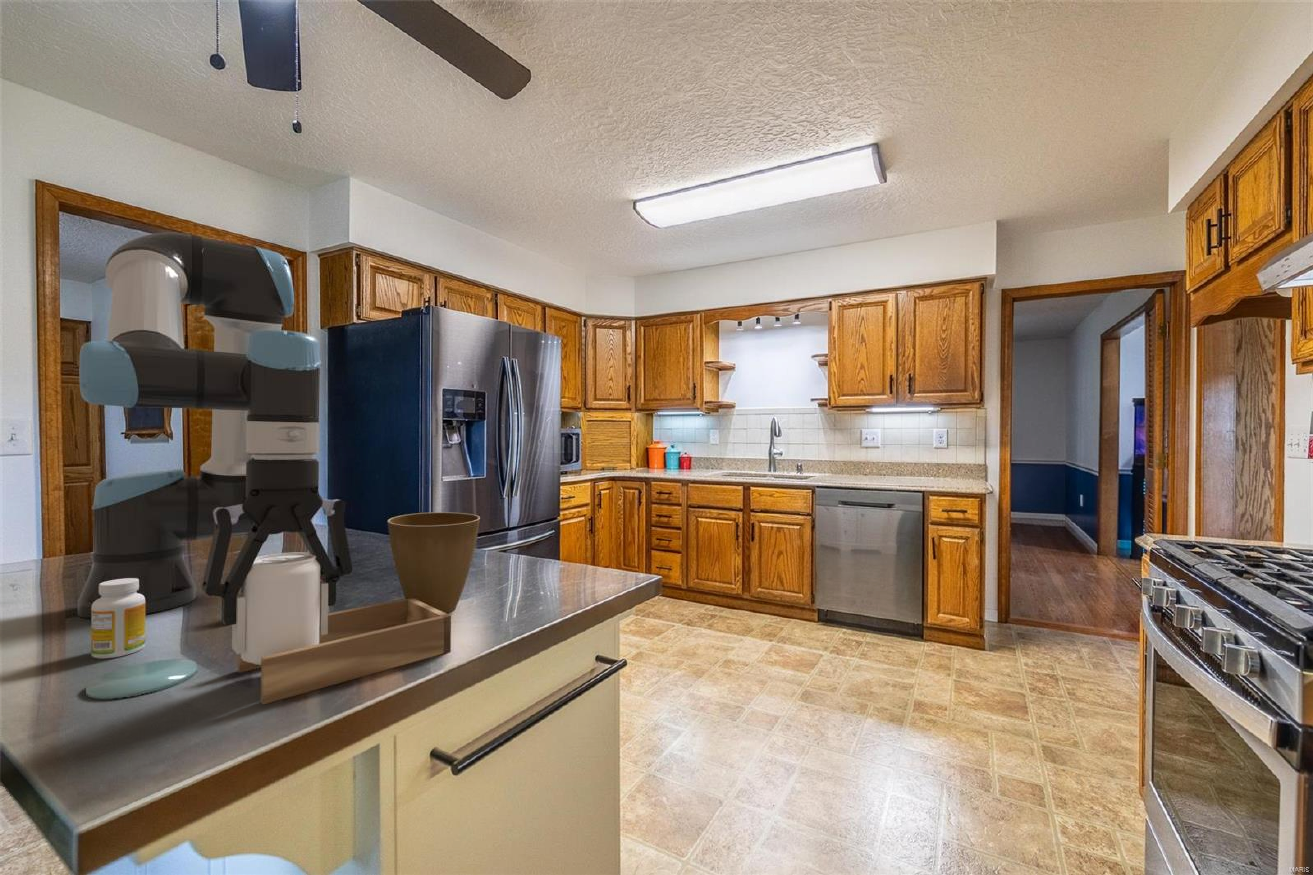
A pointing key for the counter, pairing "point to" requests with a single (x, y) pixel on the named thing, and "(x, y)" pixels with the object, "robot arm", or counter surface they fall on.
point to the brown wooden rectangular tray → (356, 648)
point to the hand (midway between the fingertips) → (281, 640)
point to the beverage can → (281, 605)
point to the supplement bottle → (118, 619)
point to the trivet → (141, 679)
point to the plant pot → (433, 555)
